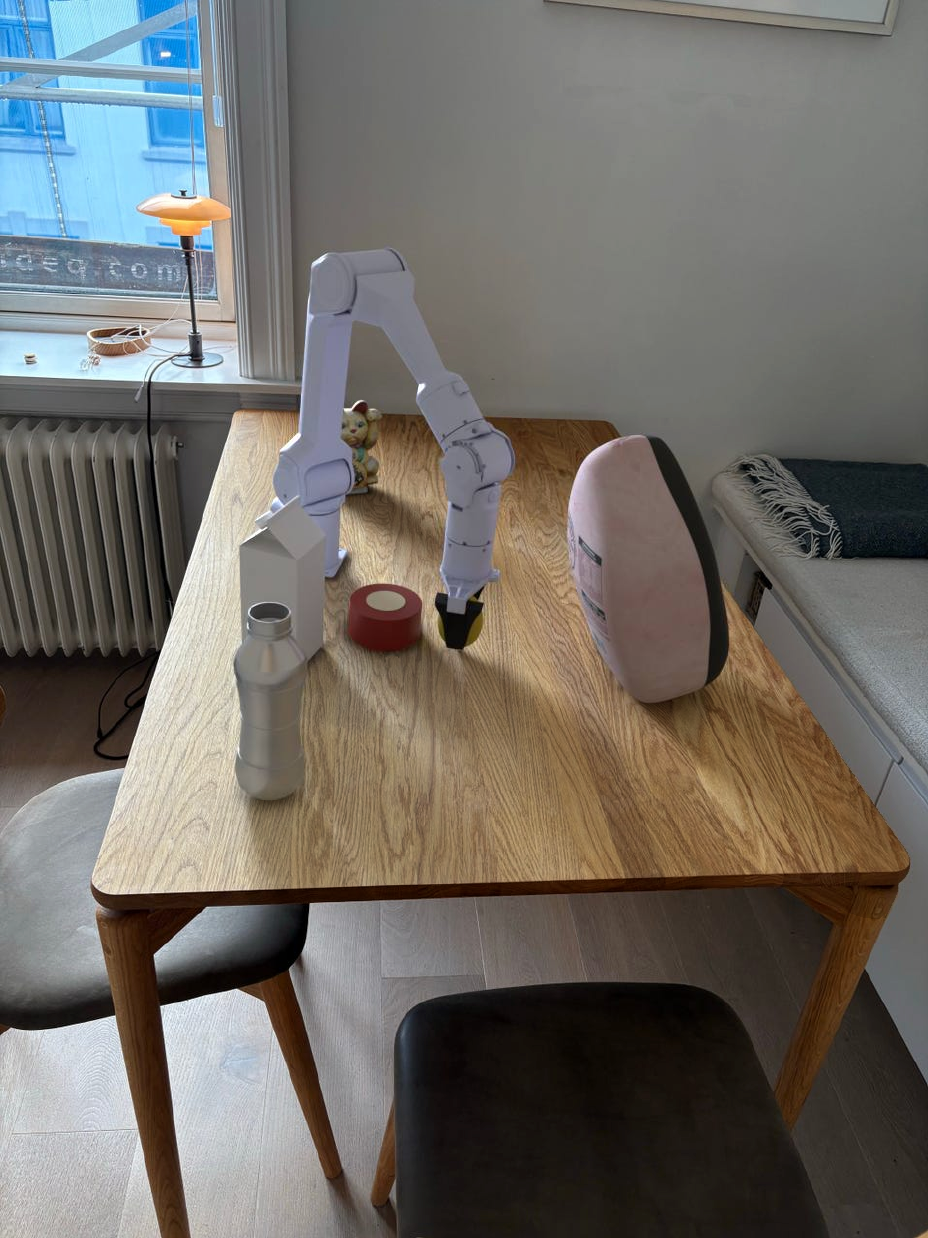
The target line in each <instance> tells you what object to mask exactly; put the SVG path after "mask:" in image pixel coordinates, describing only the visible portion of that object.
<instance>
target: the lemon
mask: <svg viewBox="0 0 928 1238" xmlns="http://www.w3.org/2000/svg"><path fill="white" fill-rule="evenodd" d="M470 600H471V601H477V602H480V601H479V600H477V599H476V598H475V597H474V596H471V597H470ZM483 625H484V613H483V610H482V611H481V613H480V615H479V616H478V617H477V618H476V619H475V621H474V623H473V624H472V627H471V629H470V632H469V636H468V639H467V642H466V645H465V647H464V648H467V647H469V646H471V645H473V644H474V643H475V642H477V640H478V639H479V637H480V635H481V633H482V630H483ZM437 629H438V630H437V631H438V633H439V636H440V638H441V639H442V640H443V642H445V637H444V630H443V624H442V620H441V617H440V615H439V614H438V615H437Z"/></svg>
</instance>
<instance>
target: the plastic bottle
mask: <svg viewBox="0 0 928 1238" xmlns="http://www.w3.org/2000/svg"><path fill="white" fill-rule="evenodd" d="M292 630H293V628H292V622H291V611H290V609H289V608H288V607H287V606H286V605H283V604H280V603H276V602H263V603H258V604H255V605H253V606H252V607H251V608H250V609H249V610H248V624H247V631H248V633H249V636H248V637H247V638H246V639H245V640H244V641H243V643H242V642H241V644H240V645H239V647H238V648H237V650H236V652H235V655H234V659H233V660H232V661H233V662H232V663H233V664H232V666H233V674H234V679H235V685H236V689H237V695H238V700H239V711H240V733H239V743H238V747H237V751H236V755H235V763H234V772H235V776H236V780H237V783H238V785H239V787H240V788H241V789H242V790H243V791H244V792H245V793H246V794H247V795H248V796H250V797H251V798H254V799H257V800H261V801H275V800H281V799H283V798H286V797H288V796H290V795H291V794H293V793H294V792H295V791H296V790H297V789H298V788H299V787H300V786H301V785H302V784H301V783H302V782H303V780H304V774H305V771H306V758H305V752H304V747H303V745H302V733H301V709H302V699H303V697H302V696H303V692H304V687H305V683H306V677H307V673H308V664H309V663H308V662H309V661H308V662H307V657H306V654H305V651H304V649H303V648H302V646H301V645H300V644H299V643H298V641H297V640H296V639H295V638H294V637H293V636H292V635H291V633H292Z"/></svg>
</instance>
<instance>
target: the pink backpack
mask: <svg viewBox="0 0 928 1238" xmlns="http://www.w3.org/2000/svg"><path fill="white" fill-rule="evenodd" d="M694 495H695V494H694V493H693V491H692V489H691V486H690V483H689V482H688V480H687V478H686V476H685V473H684V471H683V469H682V467H681V465H680V463H679V461H678V459H677V458H676V456H675V454H674V453H673V451H672V449H671V448H670V447H669V445H668V444H667V443H666V442H665V441H664V440H663V439H662V438H660V437H659V436H657V435H650V434H635V435H627V436H621V437H618V438H615V439H612V440H610V441H607V442H606V443H604V444H602V445H600V446H598V447H596V448H595V449H594V450H592V451H591V452H590V453H589V454H588V455H587V456H586V457H585V458H584V459H583V461H582V462H581V464H580V466H579V469H578V471H577V473H576V475H575V478H574V481H573V485H572V488H571V493H570V497H569V501H568V509H567V525H566V526H567V527H566V528H567V548H568V549H567V550H568V558H569V565H570V569H571V573H572V574H571V575H572V578H573V581H574V584H575V589H576V591H577V595H578V598H579V600H580V604H581V607H582V610H583V614H584V616H585V619H586V622H587V625H588V627H589V631H590V633H591V636H592V638H593V641H594V643H595V646H596V648H597V650H598V651H599V654H600V656H601V657H602V659H603V661H604V662H605V664H606V666H607V667H608V669H609V670H610V671H611V673H612V674H613V676H614V677H615V678H616V680H617V681H618V682H619V684H621V686H622V687H623V689H624V690H625V691H626V692H627V693H628V694H629V695H630V696H631V697H632V698H634V699H635V700H637V701H639V702H641V703H644V704H655V703H661V702H665V701H669V700H672V699H676V698H678V697H682V696H685V695H689V694H691V693H694V692H696V691H699V690H701V689H703V688H705V687H706V686H708V685H709V684H711V683H713V682H714V681H715V680H716V679H717V678H718V677H719V676H720V675H721V673H722V671H723V670H724V668H725V665H726V663H727V661H728V656H729V651H730V629H729V622H728V621H729V620H728V615H727V613H728V612H727V609H726V608H727V607H726V602H725V597H724V596H725V595H724V591H723V585H722V581H721V576H720V571H719V565H718V561H717V557H716V553H715V549H714V546H713V542H712V539H711V538H710V534H709V532H708V529H707V526H706V524H705V521H704V518H703V516H702V512H701V511H700V508H699V505H698V503H697V500H696V498H695V496H694Z"/></svg>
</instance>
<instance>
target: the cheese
mask: <svg viewBox="0 0 928 1238" xmlns="http://www.w3.org/2000/svg"><path fill="white" fill-rule="evenodd" d="M422 612H423V600H422V598H421V596H420V595H419V594H417V593H416V592H415V591H414V590H412V589H410V588H408V587H406V586H403V585H398V584H394V583H385V582H384V583H372V584H366V585H364V586H363V585H362V586H361V587H358V588H356V589H355V590H354V591H353V592H351V594H350V596H349V599H348V617H347V618H348V620H347V621H348V622H347V634H348V637H349V639H351V640H352V641H353V642H354V643H355V644H356V645H358V646H359V647H362V648H364V649H367V650H370V651H374V652H375V651H376V652H383V653H385V652H386V653H387V652H389V653H390V652H398V651H402V650H406V649H408V648H411V647H412V646H414V645H415V644H416V643H417V642H418V640H419V639H420V636H421V625H422V615H423V614H422Z"/></svg>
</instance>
